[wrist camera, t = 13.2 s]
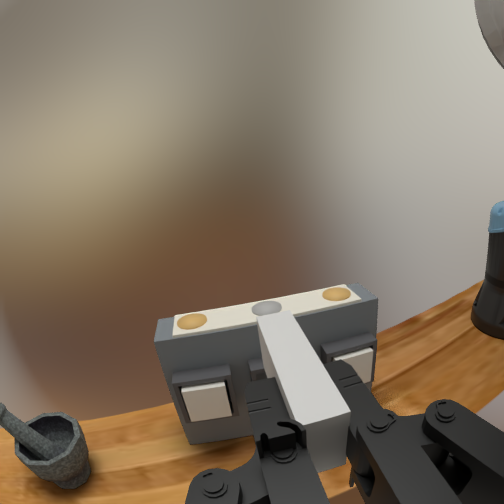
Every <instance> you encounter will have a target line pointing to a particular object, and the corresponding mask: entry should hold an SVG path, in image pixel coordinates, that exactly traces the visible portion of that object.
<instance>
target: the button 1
mask: <svg viewBox="0 0 504 504" xmlns="http://www.w3.org/2000/svg"><path fill="white" fill-rule="evenodd" d="M182 395H183V398H184V401H185V404H186V407H187V410H188V413H189V416H190V419H191V422H193V421H201V420H208V419H215V418H221V417H228V416H232V414H231V408H230V402H229V398H228V393H227V389H226V384H225V380H220V381H213V382H207V383H200V384H193V385H186V386H182Z"/></svg>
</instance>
